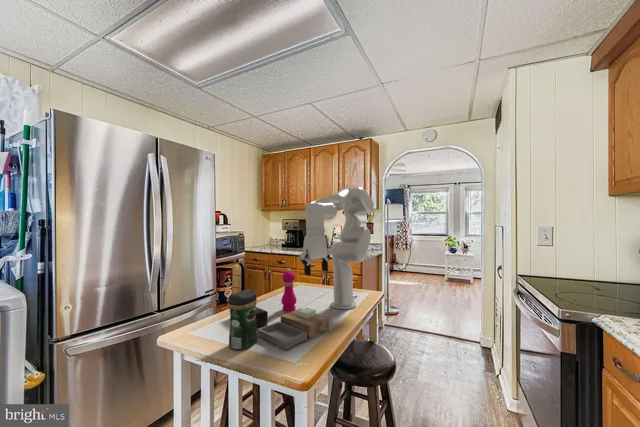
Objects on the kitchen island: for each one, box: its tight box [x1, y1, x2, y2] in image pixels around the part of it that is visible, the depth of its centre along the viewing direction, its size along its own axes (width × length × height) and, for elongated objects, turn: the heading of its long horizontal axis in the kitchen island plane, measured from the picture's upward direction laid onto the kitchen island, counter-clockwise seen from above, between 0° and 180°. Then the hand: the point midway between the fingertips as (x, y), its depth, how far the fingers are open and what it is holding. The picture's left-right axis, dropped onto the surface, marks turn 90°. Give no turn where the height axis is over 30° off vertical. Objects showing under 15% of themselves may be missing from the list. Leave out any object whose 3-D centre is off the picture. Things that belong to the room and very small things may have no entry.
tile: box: [298, 307, 317, 319], centre depth 107 cm, size 5×5×2 cm
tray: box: [257, 321, 308, 352], centre depth 97 cm, size 10×16×3 cm, turn 47°
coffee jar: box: [227, 288, 259, 351], centre depth 94 cm, size 10×8×19 cm
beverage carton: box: [256, 306, 269, 329], centre depth 114 cm, size 8×19×7 cm, turn 43°
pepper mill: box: [280, 267, 297, 313], centre depth 129 cm, size 7×7×20 cm
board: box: [280, 308, 330, 341], centre depth 106 cm, size 11×16×5 cm
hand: (316, 272), depth 112 cm, fingers open, 9 cm apart
